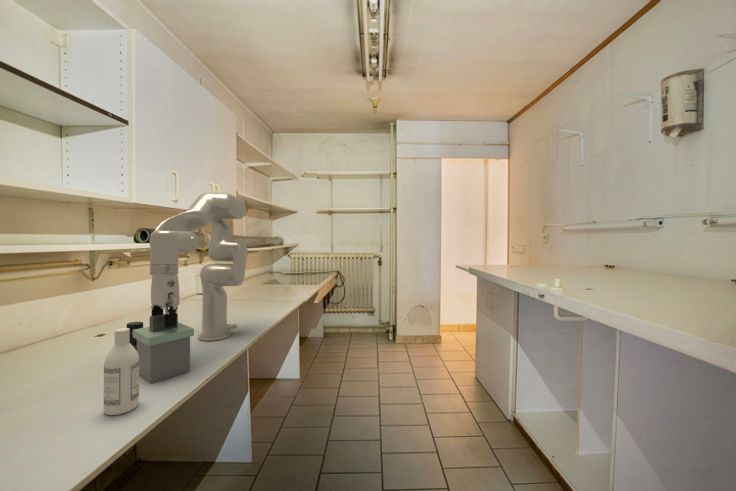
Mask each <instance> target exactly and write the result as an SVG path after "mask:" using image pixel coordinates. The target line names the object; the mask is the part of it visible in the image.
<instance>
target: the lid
mask: <svg viewBox="0 0 736 491" xmlns="http://www.w3.org/2000/svg"><path fill="white" fill-rule="evenodd" d="M164 314H165V313H163V314H162V315H155V316H151V315H149V326H146V327H143V328H140V329H134V330H133V337H134V338H135V339H137V340H139V341H141V342H142V343H144V344H146V345H148V346H151V345H155V344H160V343H164V342H168V341H173V340H177V339H182V338H186V337H190V338H191V337H193V336H195V328H193V327H191V326H188V325H186V324H184V323H181V322H179V317H178V315H179V314H178V313H177V320H176V326H172V327H167V328H166V327H164Z"/></svg>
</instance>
